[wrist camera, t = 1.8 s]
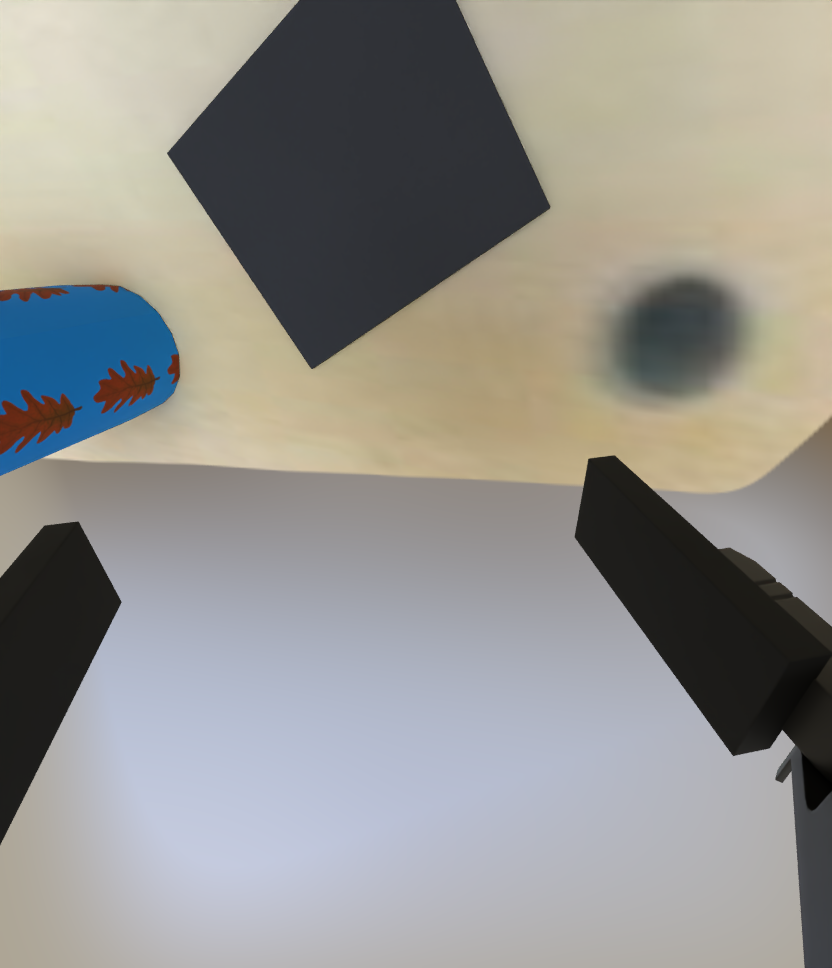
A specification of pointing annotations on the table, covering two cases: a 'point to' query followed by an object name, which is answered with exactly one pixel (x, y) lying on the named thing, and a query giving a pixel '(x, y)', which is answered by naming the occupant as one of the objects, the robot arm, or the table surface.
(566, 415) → the table surface
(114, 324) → the thermos
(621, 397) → the table surface
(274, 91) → the desk mat
